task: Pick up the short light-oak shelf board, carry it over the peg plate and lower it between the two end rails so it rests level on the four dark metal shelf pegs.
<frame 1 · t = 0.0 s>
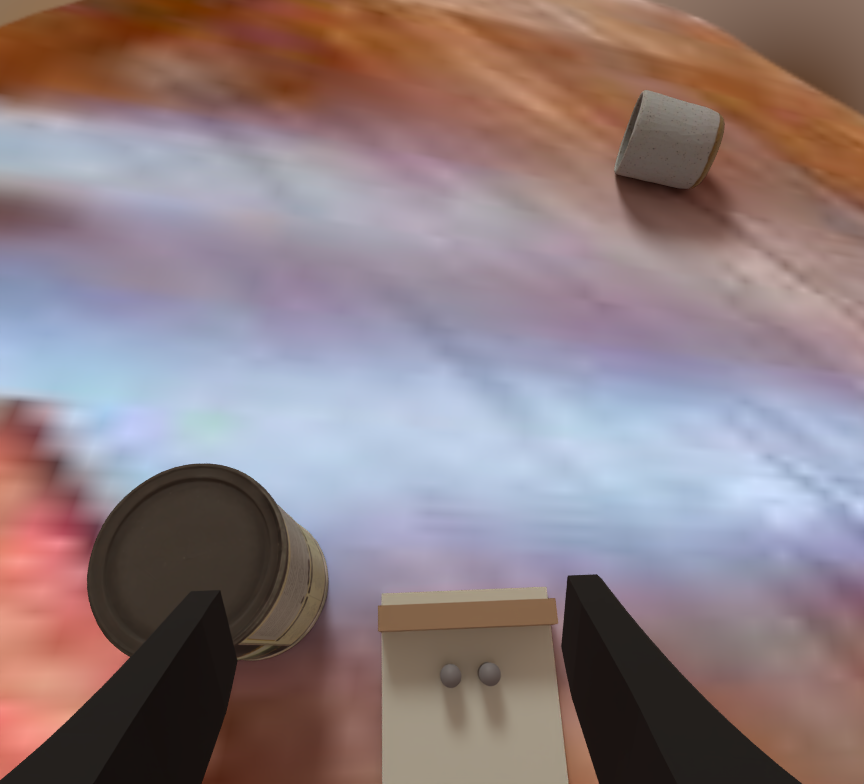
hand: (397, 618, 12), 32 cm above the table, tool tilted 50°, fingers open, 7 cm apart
ceramic mug: (652, 163, 60), on the table
peg plate: (472, 748, 39), on the table
coffee can: (261, 585, 44), on the table
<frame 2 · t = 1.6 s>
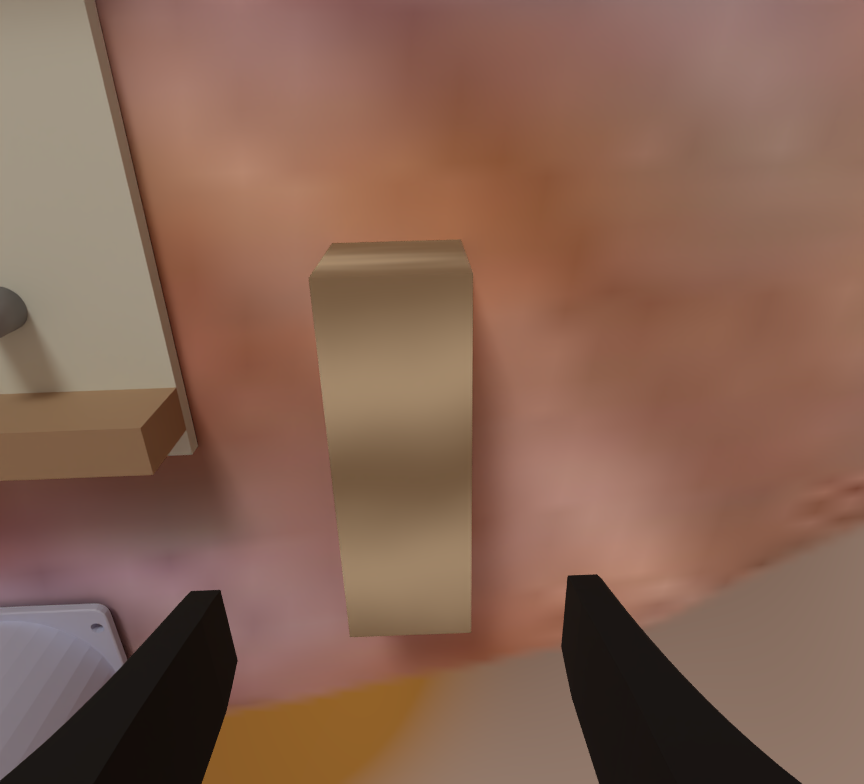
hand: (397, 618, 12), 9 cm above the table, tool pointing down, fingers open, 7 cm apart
shelf board: (405, 410, 21), on the table
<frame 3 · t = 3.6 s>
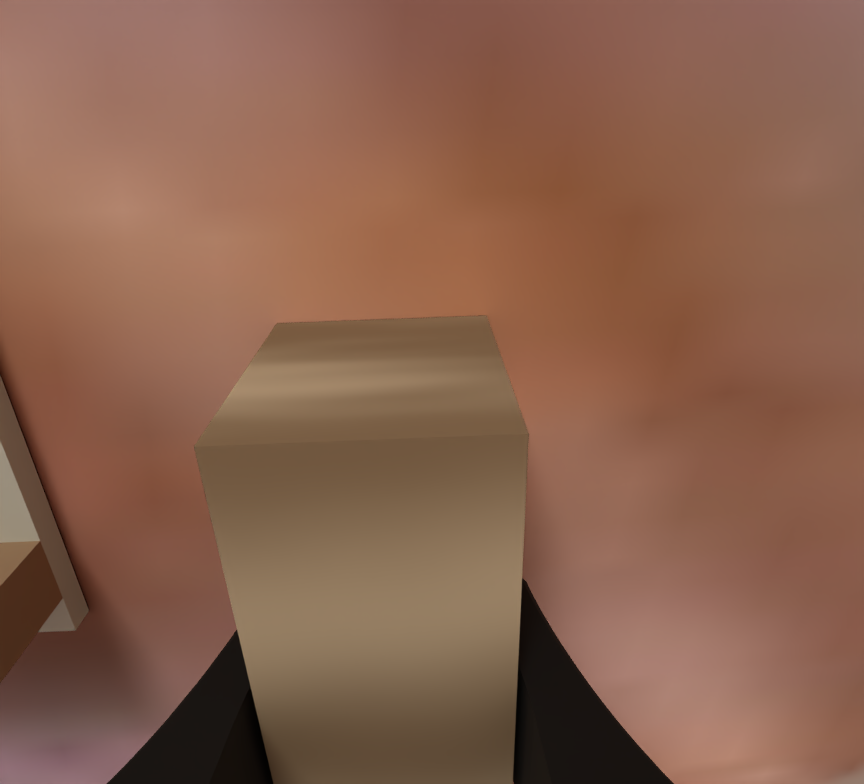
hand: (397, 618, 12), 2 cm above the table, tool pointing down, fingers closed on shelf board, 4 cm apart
shelf board: (399, 564, 14), on the table, touching gripper
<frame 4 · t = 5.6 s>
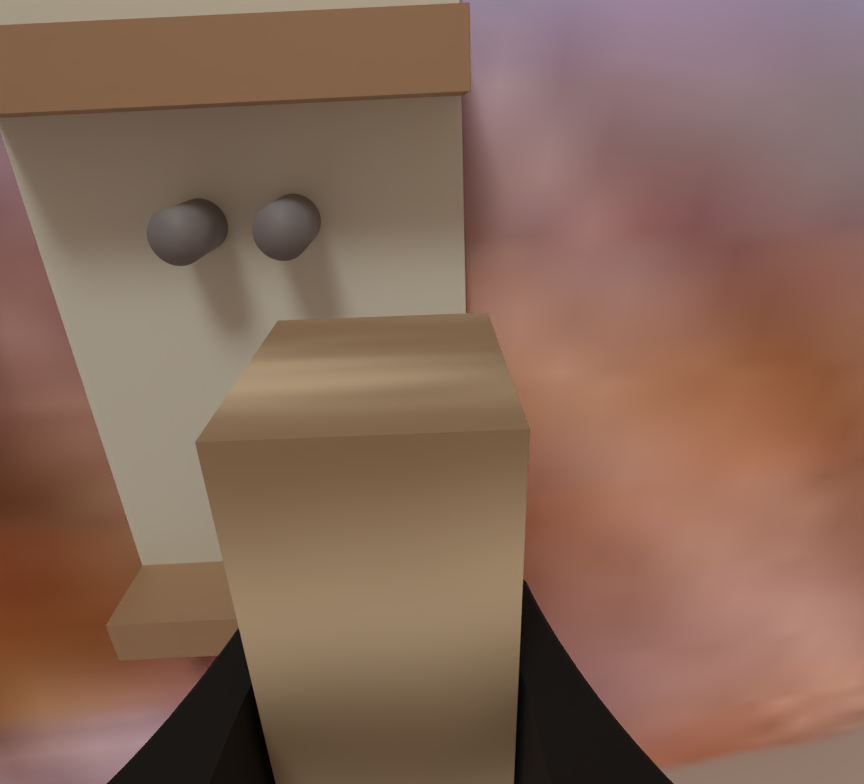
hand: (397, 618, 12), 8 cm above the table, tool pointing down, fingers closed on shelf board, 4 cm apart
shelf board: (400, 562, 14), point 7 cm above the table, touching gripper
peg plate: (278, 363, 19), on the table
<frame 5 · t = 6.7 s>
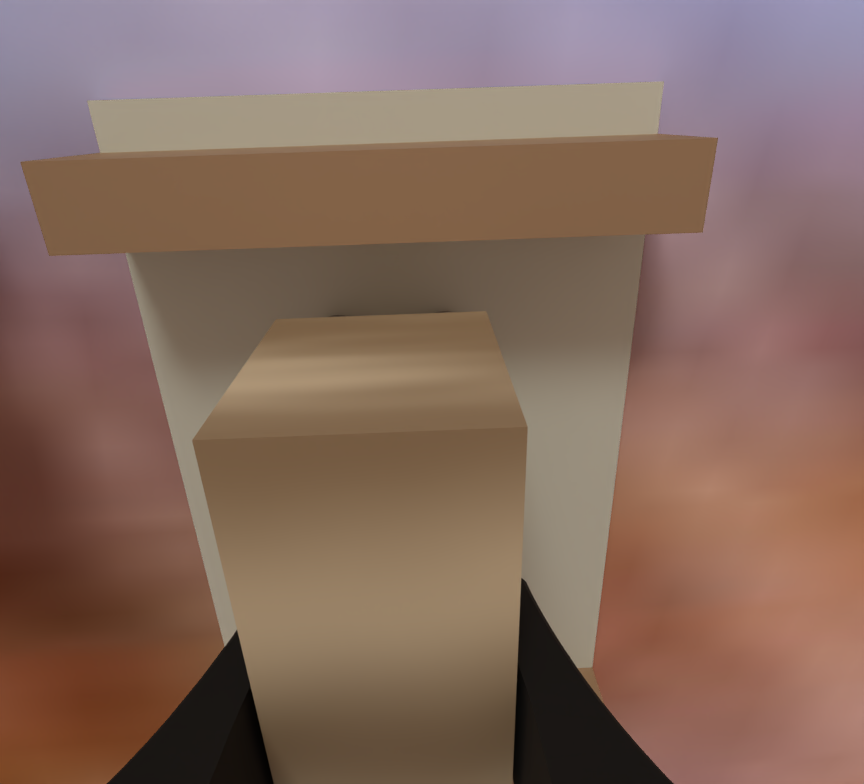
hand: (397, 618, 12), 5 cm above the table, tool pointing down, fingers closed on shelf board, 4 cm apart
shelf board: (398, 561, 14), point 4 cm above the table, touching gripper
peg plate: (402, 479, 17), on the table
when the fingers open (5 cm above the table, at t = 7.6 s): shelf board stays where it is, resting on peg plate.
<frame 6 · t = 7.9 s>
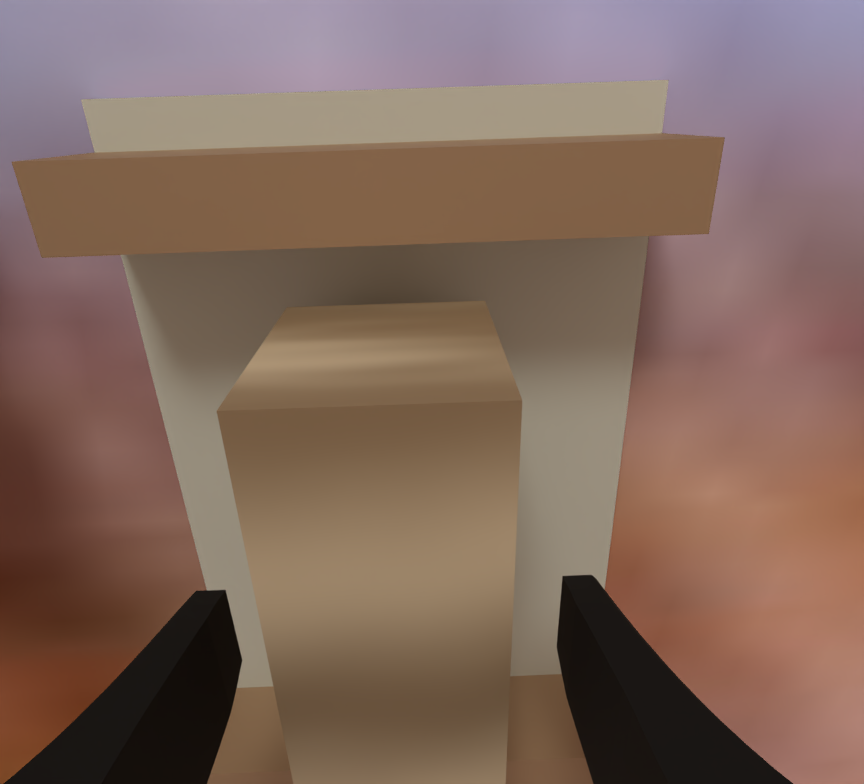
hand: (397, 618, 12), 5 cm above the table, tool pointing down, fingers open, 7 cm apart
shelf board: (400, 540, 14), point 3 cm above the table, touching peg plate
peg plate: (402, 483, 17), on the table
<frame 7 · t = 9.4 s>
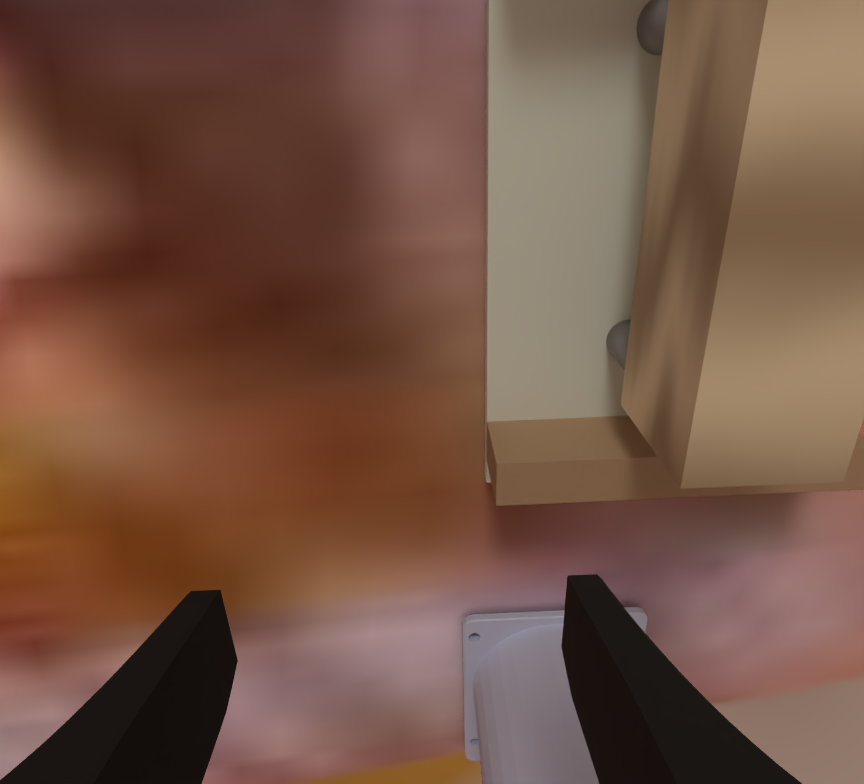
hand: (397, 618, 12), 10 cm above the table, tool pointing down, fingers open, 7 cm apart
shelf board: (717, 204, 16), point 3 cm above the table, touching peg plate
peg plate: (677, 195, 18), on the table
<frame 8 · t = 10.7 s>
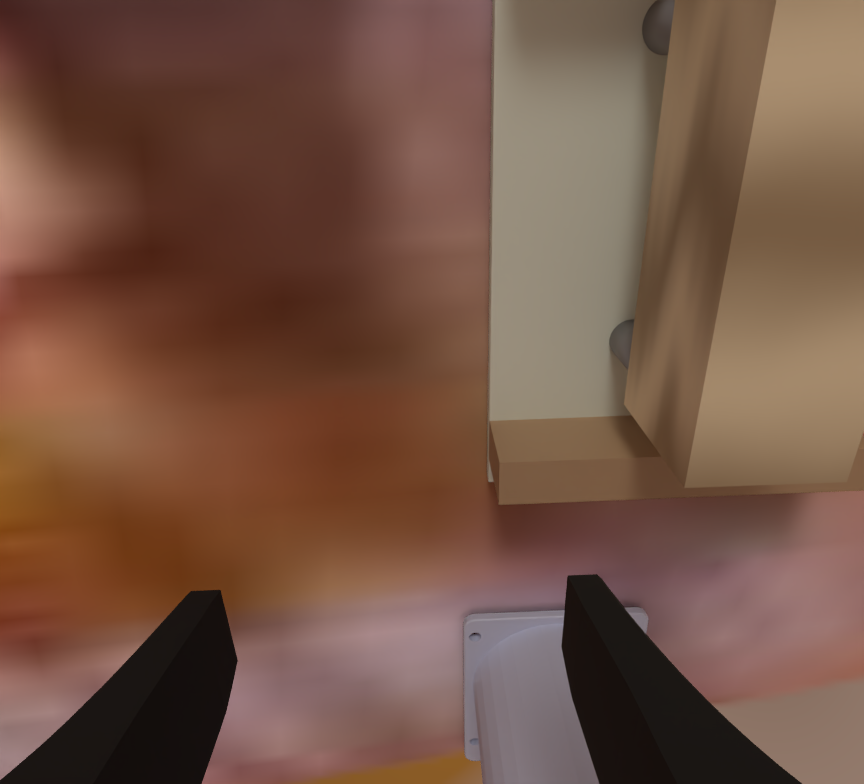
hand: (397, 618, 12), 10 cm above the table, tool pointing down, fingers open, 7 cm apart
shelf board: (722, 204, 16), point 3 cm above the table, touching peg plate
peg plate: (681, 195, 18), on the table
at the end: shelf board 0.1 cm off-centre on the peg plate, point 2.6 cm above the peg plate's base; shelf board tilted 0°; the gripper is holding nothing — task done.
